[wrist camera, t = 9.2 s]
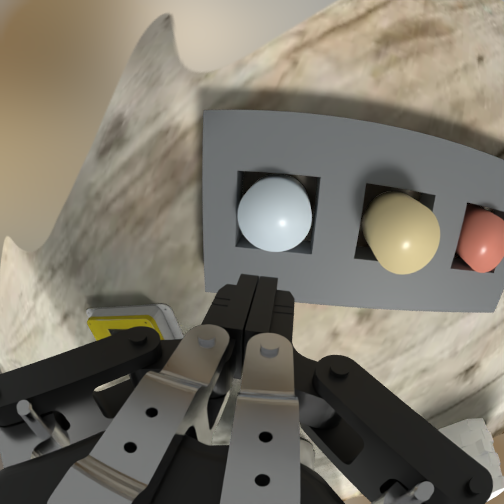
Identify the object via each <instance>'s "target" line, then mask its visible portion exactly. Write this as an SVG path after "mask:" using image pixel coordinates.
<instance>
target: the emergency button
mask: <svg viewBox="0 0 504 504" xmlns="http://www.w3.org/2000/svg"><path fill="white" fill-rule="evenodd" d="M86 312H87V315H88V317H89V319H88V321H87V324H88V326H89V328H90V330H91V332H92V333H93V335H94V337H95V339H96V340H100V339H103V338H105V337H108V336H111V335H114V334H116V333H119V332H122V331H124V330H127V329H129V328H132V327H137V326H146V327H151V328H153V329H155V330H156V331H157V332H158V333H159V335H160V340H172V339H182V338H184V336H183V333H182V331H181V329H180V327H179V324H178V322H177V320H176V317H175V315H174V313H173V310H172V309H171V307H170V306H168V305H166V304H150V305H136V306H121V307H104V308H89V309H87V311H86Z"/></svg>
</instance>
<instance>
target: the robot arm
mask: <svg viewBox="0 0 504 504" xmlns="http://www.w3.org/2000/svg"><path fill="white" fill-rule="evenodd" d="M277 286H278V278H277V277H268V276H260V279H259V276H258V275H250V274H241V275H240V277H239V280H238V282H237V285H233V284H226V285H225V286H223V287H222V288H220V289H219V290H218V292H217V294H216V296H215V299H214V300H213V302H212V305H211V306H210V308H209V310H208V312H207V314H206V316H205V318H204V320H203V322H202V324H201V325H199V326H196V327H193V328H192V329H190V330H189V331H188V332H187V333H186V335H185V336H184V338H182V339H172V340H160V335H159V333H158V332H157V331H156V330H155V329H153V328H151V327H146V326H137V327H132V328H129V329H127V330H124V331H122V332H119V333H116V334H114V335H111V336H108V337H105V338H103V339H100V340H97V341H95V342H92V343H89V344H86V345H84V346H81V347H78V348H75V349H72V350H70V351H67V352H64V353H61V354H58V355H56V356H53V357H50V358H47V359H44V360H41V361H38V362H35V363H32V364H30V365H27V366H24V367H21V368H18V369H15V370H12V371H9V372H6V373H3V374H0V453H1V458H2V462H3V466H4V469H2V470H1V471H0V504H345V503H344V502H343V501H342V500H341V498H340V497H339V496H338V495H337V494H336V493H335V492H334V490H333V489H332V488H331V487H330V486H329V484H328V483H327V482H326V481H325V480H324V479H323V478H322V477H321V476H320V475H319V474H318V473H316V472H315V471H314V468H315V452H314V451H313V446H312V445H311V444H310V443H309V442H307V441H305V440H301V439H300V426H301V428H302V429H303V431H304V432H305V433H306V434H307V435H308V436H309V438H310V439H311V440H312V441H313V442H314V443H315V444H316V445H317V447H318V448H319V449H320V450H321V451H322V452H323V453H324V454H325V455H326V456H327V458H328V459H329V460H330V461H331V462H332V463H333V464H334V465H335V466H336V467H337V468H338V469H339V470H340V471H341V472H342V473H343V475H344V476H345V477H346V478H347V479H348V480H349V481H350V482H351V483H352V484H353V485H354V486H355V487H356V488H357V489H358V490H359V491H360V492H361V493H362V494H363V495H364V496H365V497H367V499H368V500H369V501H370V502H371V504H485V503H486V502H487V501H488V499H489V498H490V496H491V493H492V490H493V479H492V476H491V474H490V472H489V471H488V470H487V469H486V468H485V467H484V466H482V465H481V464H480V463H478V462H477V461H476V460H475V459H473V458H472V457H471V456H470V455H468V454H467V453H466V452H465V451H463V450H462V449H461V448H460V447H458V446H457V445H456V444H455V443H453V442H452V441H451V440H450V439H448V438H447V437H446V436H445V435H443V434H442V433H441V432H440V431H438V430H437V429H436V428H435V427H433V426H432V425H431V424H430V423H428V422H427V421H426V420H425V419H424V418H422V417H421V416H420V415H419V414H417V413H416V412H415V411H414V410H413V409H411V408H410V407H409V406H408V405H407V404H405V403H404V402H403V401H402V400H400V399H399V398H398V397H397V396H396V395H394V394H393V393H392V392H391V391H390V390H388V389H387V388H386V387H385V386H384V385H382V384H381V383H380V382H379V381H378V380H376V379H375V378H374V377H373V376H372V375H370V374H369V373H368V372H367V371H366V370H365V369H363V368H362V367H361V366H360V365H359V364H357V363H356V362H355V361H354V360H352V359H350V358H348V357H346V356H342V355H329V356H326V357H324V358H322V359H321V360H319V361H318V362H317V361H314V360H311V359H308V358H306V357H304V356H302V355H301V354H299V353H298V352H297V351H296V350H295V348H294V347H293V344H292V333H293V318H294V301H295V299H294V297H293V295H292V294H291V292H290V291H284V290H277ZM242 373H243V374H242ZM128 374H129V377H130V379H129V380H127V381H124V382H122V383H119V384H117V385H115V386H112V387H110V388H107V389H105V390H102V391H99V392H96V391H94V389H95V388H97V387H98V386H101V385H103V384H106V383H108V382H111V381H113V380H115V379H118V378H120V377H123V376H125V375H128ZM241 377H242V381H241V387H240V393H238V396H237V401H236V408H235V414H234V420H233V427H232V433H231V439H230V445H214V446H212V439H213V436H214V433H215V430H216V428H217V425H218V423H219V420H220V418H221V415H222V413H223V410H224V408H225V405H226V403H227V400H228V398H229V395H230V388H231V385H232V382H233V378H236V379H241ZM299 422H300V425H299Z"/></svg>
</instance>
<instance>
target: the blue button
mask: <svg viewBox="0 0 504 504" xmlns="http://www.w3.org/2000/svg"><path fill="white" fill-rule="evenodd" d="M311 222H312V213H311V206H310V201H309V196H308V193H307V191H306V189H305V188H304V186H303V185H302V184H301V183H300V182H299V181H298V180H297V179H295V178H293V177H292V176H289V175H286V174H281V173H274V174H269V175H266V176H263V177H262V178H260V179H259V180H257V181H256V182H255V183H254V184H253V185H252V186H251V188H250V189H249V190H248V191H247V192H246V193H245V195H244V196H243V198H242V199H241V201H240V204H239V208H238V223H239V227H240V229H241V231H242V233H243V235H244V236H245V237H246V239H247V240H248V241H249V242H250V243H252V244H253V245H254V246H256V247H258V248H260V249H262V250H265V251H270V252H282V251H286V250H289V249H291V248H294V247H295V246H297V245H298V244H299V243H301V242H302V241H303V239H304V238H305V237H306V235H307V234H308V232H309V230H310V227H311Z"/></svg>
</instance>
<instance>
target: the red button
mask: <svg viewBox="0 0 504 504" xmlns="http://www.w3.org/2000/svg"><path fill="white" fill-rule="evenodd" d="M455 252H456V253H457V254H458V255H459V256H460V257H461V258H462V259H463V260H464V261H465V262H466V263H467V264H468V265H469V266H470V267H471V268H472V269H473V270H475V271H476V272H479V273H485V272H489V271H491V270H492V269H494V268H495V267H496V266H497V265H498V264H499V263H500V262H501V260H502V259H503V257H504V220H503V219H501V218H500V217H498V216H496V215H495V214H493V213H491V212H489V211H488V210H486V209H484V208H482V207H480V206H478V205H476V204H468V205H467V206H466V210H465V215H464V220H463V224H462V228H461V232H460V236H459V240H458V244H457V247H456V251H455Z"/></svg>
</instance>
